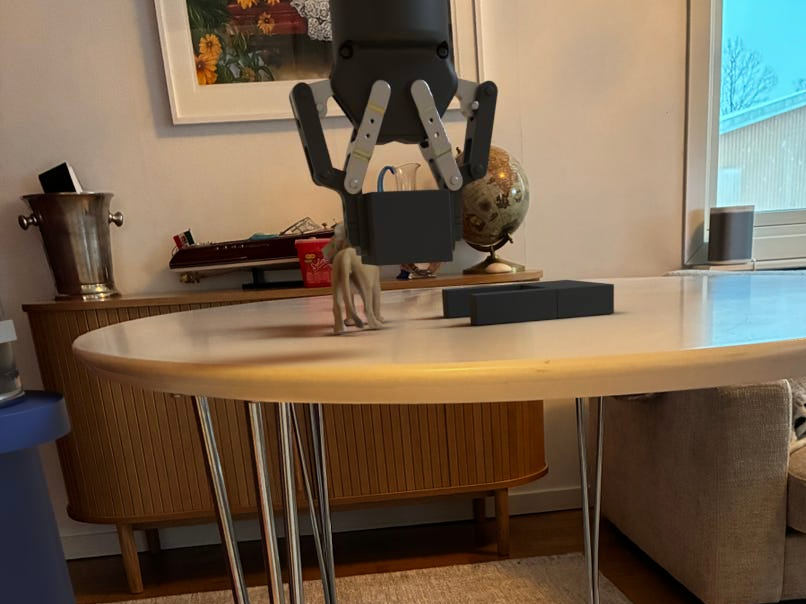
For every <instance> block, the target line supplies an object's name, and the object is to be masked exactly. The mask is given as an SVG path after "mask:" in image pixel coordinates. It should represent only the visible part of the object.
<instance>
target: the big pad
mask: <svg viewBox="0 0 806 604" xmlns="http://www.w3.org/2000/svg"><path fill="white" fill-rule="evenodd" d="M441 301H442V314H443V317H444V318H448V319H454V318H464V317H467V318H468V317H469V322H470V324H471V325H473V326H487V325H488V326H489V325H498V324H500V325H501V324H511V323H523V322H532V321H544V320H545V321H547V320H556V319H568V318H579V317H590V316H600V315H602V316H603V315H613V314H614V313H615V284H613V283H606V282H605V283H604V282H594V281H584V280H574V279H558V280H546V281H532V282H531V281H530V282H520V283H519V282H518V283H507V284H506V283H505V284H494V285H481V286H467V287H454V288H442V289H441Z"/></svg>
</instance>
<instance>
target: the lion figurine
mask: <svg viewBox="0 0 806 604" xmlns="http://www.w3.org/2000/svg"><path fill="white" fill-rule="evenodd" d="M333 230H334V231H333V232H334V235H332V236H331V237H330V240H329V242H328V243H326V244H325V245H324V246H323V247H322V248H321V249H320V252H321V253H322V256H323V258H324V259H325V260H327V261H328V266H329V267H330V268H331V276H330V284H331V295H332V310H331V311H332V315H333V319H334V326H333V330H332V331H333V333H334V334H339V333H343V332H347V326H355V328H356V329H357V328H358V329H364V328H365V323H364V322H363V320H362V319H361V318H360V316H358V312H357V309H356V305H355V295H357V296H359V297H360V298H361V301H362V303H363V315H364V317H365V319H366V322H367V326H368V328H369V329H379V328H383V323H384V322H385V318H384V317H383V316H381V305H382V303H381V301H382V299H381V297H382V289H381V283H380V278H381V271H382V266H374V265H365V264H362V263H361V256H357V255H356V251H355V247H349V246H348V244H347V242H346V240H345V229H344V220H341V221H339V222H337V223H336V224H335V226H334V229H333ZM342 303H344V308H345V318H344V316H343V314H344V313H343V305H342Z"/></svg>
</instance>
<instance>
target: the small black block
mask: <svg viewBox="0 0 806 604" xmlns="http://www.w3.org/2000/svg"><path fill="white" fill-rule="evenodd" d="M362 194H363V196H366V207H367V219H368V231H369V243H370V255H367V256H361V263H362V264H365V265H374V266H381V267H382V266H398V265H400V266H401V265H416V264H417V265H419V264H434V263H451V262H453V261H454V251H453V248H452V229H451V209H450V190H449V189H439V188H438V189H412V190H410V189H409V190H385V191H383V190H382V191H381V190H380V191H368V192H364V193H362Z"/></svg>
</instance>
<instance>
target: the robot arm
mask: <svg viewBox="0 0 806 604" xmlns="http://www.w3.org/2000/svg"><path fill="white" fill-rule="evenodd" d="M328 7H329V18H330V29H331V30H330V31H331V38H332V39H331V40H332V41H331V42H332V52H333V53H332V54H333V63H332V68H331V70H330V72H329V76H328V78H327V79H323V80H318V81H314V82H311V83H306V82H305V81H300V82H298V83H296V84H295V85H293V86H292V88H291V89H290V91H289V94H288V100H289V103H290V107H291V110H292V114H293V117H294V120H295V121H294V122H295V124H296V125H295V126H296V129H297V132H298V136H299V139H300V142H301V146H302V149H303V153H304V157H305V160H306V163H307V167H308V171H309V175H310V178H311V181H312V183H313V184H314V185H315V186H317V187H323V188H326V189H329V190H331V191H333V192H336V193H337V195H339V197H340V199H341V208H342V218H343V221H344V229H345V240H346V242H347V244H348V246H349V247H355V251H356V255H357V256H367V255H370V243H369V231H368V219H367V207H366V196H363V194H364V193H363V185H364V181H365V178H366V175H367V171H368V167H369V164H370V161H371V159H372V157H373V154H374V151H375V148H376V146H385V145H387V144H391V143H393V142H396V143H399V144H402V145H417V146H418V149H419V150H420V153H421V155H422V157H423V160H424V161H425V162H426V163H427V165H428V168H429V170H430V172H431V175H432V178H433V179H434V181H435V184H436V187H437V188H438V189H449V190H450V209H451V229H452V248H453V252H454V251H455V250H456V242H461V241H462V238H463V235H464V227H463V205H462V204H463V203H462V193H463V190H464V188H465V187H466V186H468V185H470V184H472V183H474V182H476V181H479V180H482V179H483V178H485V177H486V176H487V173H488V168H489V160H490V154H491V153H490V152H491V145H492V139H493V131H494V125H495V116H496V110H497V109H496V108H497V101H498V95H499V94H498V93H499V89H498V86H497V83H495V82H494V81H493V80H485V81H484V82H476V81H472V80H468V79H463V78H460V77H458V74H457V71H456V70H455V68H454V66H453V64H452V61H451V56H450V34H449V33H450V31H449V13H448V0H328ZM331 97H332V99H333V100H334V102H335V103H336V104H337V106H338V107H339V108H340V110H341V111H342V113H343V114H344V116H345V117H346V118H347V120H348V121H349V122H350V124H351V125H352V126H353V127H352V130H351V133H350V137H349V140H348V144H347V147H346V152H345V160H344V163H343V166H342V170H341V169H339V168H336V167H334V166H333V163H332V159H331V155H330V152H329V148H328V143H327V140H326V138H325V134H324V130H323V125H322V123H321V120H323V119H324V118H325V117H326V116H327V113H328V100H329V98H331ZM454 98H456V99H457V100H458V102H459V109H460V113H461V115H462V116H463V117H464V118H466V126H465V134H464V142H463V150H462V157H461V165H458V164H457V162H456V159H455V157H454V155H453V149H452V144H451V142H450V139H449V136H448V134H447V132H446V129H445V127H444V123H443V122H442V119H443V117H444V116H445V114H446V113H447V111H448V108H449V107H450V105H451V103H452V101H453V100H454ZM17 340H18V337H17V333H16V328H15V324H14V320H13V319H7V320H6V317H5V311H4V308H3V304H2V299H1V298H0V409H3V408H7V407H10V406H14V405H16V404H19V403H21V402H23V401H25V400H26V397H25V393H24V390H25V389H24V385H23V384H21V380H20V372H19V368H18V367H17V363H16V362H17V361H16V357H15V354H14V350H13V346H12V341H17Z"/></svg>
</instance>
